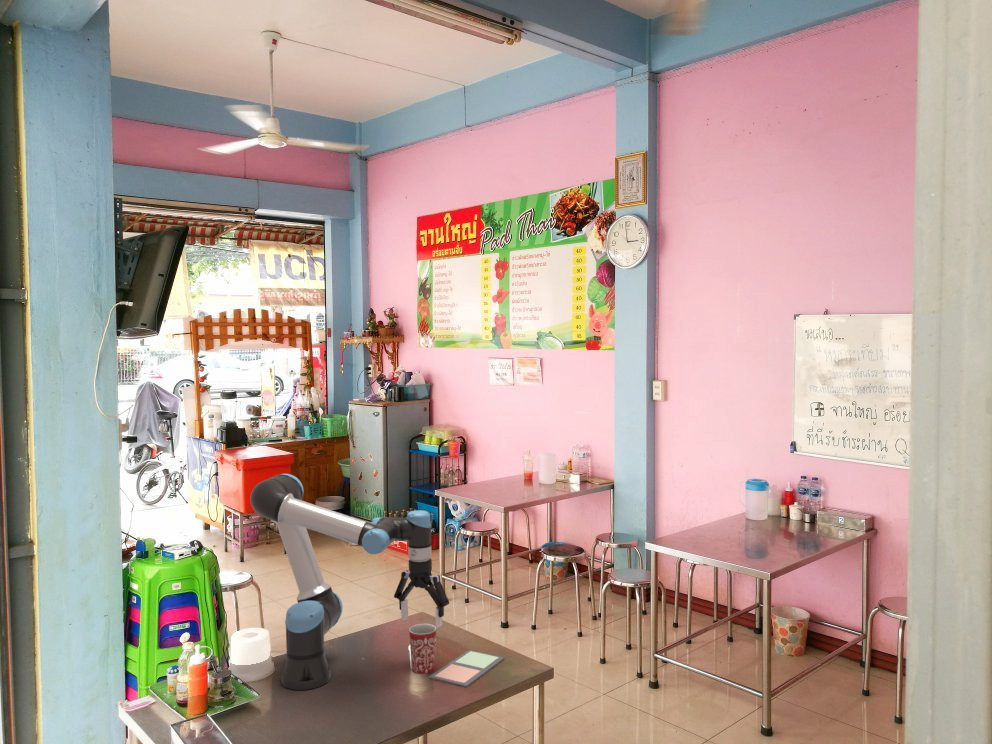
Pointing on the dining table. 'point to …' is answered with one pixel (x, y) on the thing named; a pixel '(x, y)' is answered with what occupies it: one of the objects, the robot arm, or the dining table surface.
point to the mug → (422, 647)
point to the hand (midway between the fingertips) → (421, 623)
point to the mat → (466, 668)
